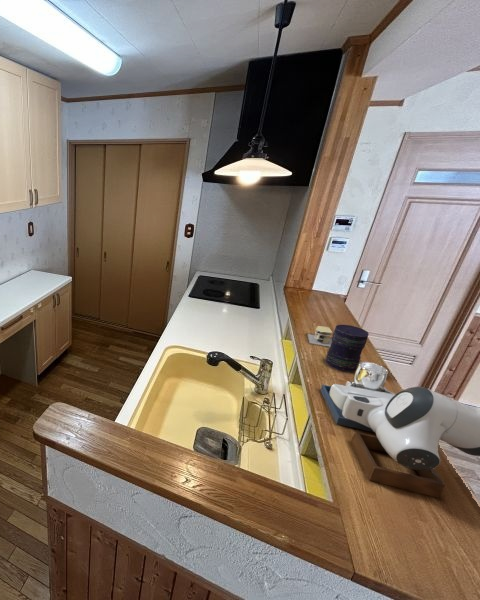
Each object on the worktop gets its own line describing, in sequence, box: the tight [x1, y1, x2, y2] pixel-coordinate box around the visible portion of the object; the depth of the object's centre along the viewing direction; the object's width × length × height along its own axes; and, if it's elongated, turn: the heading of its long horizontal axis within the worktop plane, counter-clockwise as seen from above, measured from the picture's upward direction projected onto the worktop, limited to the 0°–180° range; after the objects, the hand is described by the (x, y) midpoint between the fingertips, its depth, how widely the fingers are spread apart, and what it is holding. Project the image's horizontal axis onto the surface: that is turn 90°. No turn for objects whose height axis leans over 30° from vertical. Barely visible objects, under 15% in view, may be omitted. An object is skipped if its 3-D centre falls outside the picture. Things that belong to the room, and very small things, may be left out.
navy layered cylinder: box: [324, 324, 369, 373], centre depth 122 cm, size 10×10×15 cm
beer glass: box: [351, 361, 389, 392], centre depth 97 cm, size 7×7×15 cm
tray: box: [320, 384, 375, 433], centre depth 99 cm, size 15×17×2 cm
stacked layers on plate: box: [306, 325, 333, 348], centre depth 142 cm, size 10×9×6 cm
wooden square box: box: [350, 431, 446, 498], centre depth 80 cm, size 13×13×4 cm
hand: (364, 386), depth 97 cm, fingers closed on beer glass, 6 cm apart
